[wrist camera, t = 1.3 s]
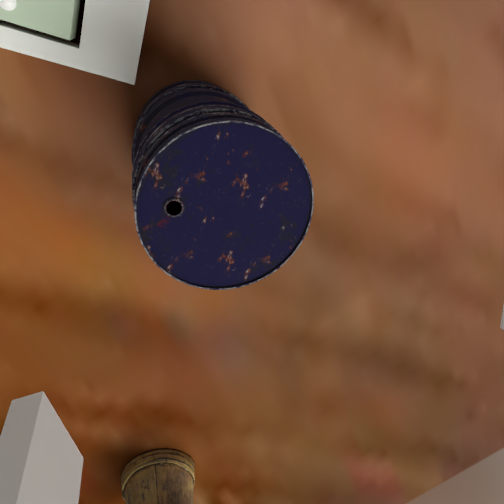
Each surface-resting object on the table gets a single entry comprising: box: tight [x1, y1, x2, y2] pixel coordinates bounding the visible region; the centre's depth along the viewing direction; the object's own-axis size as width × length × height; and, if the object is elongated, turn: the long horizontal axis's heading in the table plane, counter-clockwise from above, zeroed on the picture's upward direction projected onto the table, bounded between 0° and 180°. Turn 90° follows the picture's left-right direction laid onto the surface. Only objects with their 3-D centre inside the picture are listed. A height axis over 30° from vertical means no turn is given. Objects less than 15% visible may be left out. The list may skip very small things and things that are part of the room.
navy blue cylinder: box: [132, 80, 314, 290], centre depth 30 cm, size 10×10×15 cm
